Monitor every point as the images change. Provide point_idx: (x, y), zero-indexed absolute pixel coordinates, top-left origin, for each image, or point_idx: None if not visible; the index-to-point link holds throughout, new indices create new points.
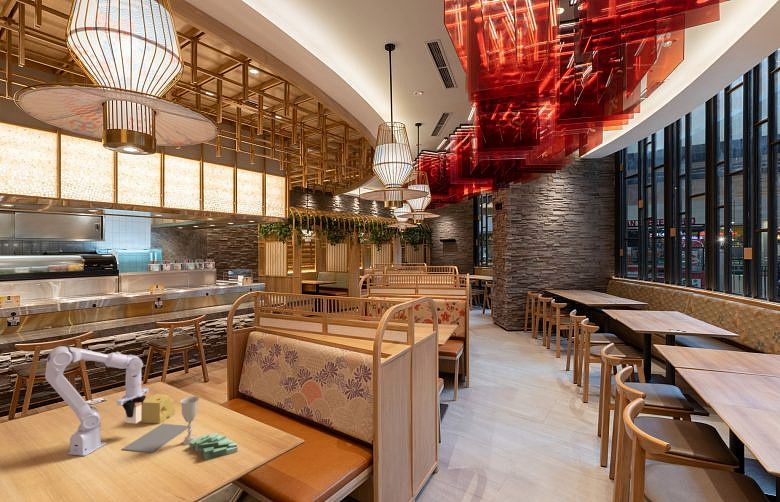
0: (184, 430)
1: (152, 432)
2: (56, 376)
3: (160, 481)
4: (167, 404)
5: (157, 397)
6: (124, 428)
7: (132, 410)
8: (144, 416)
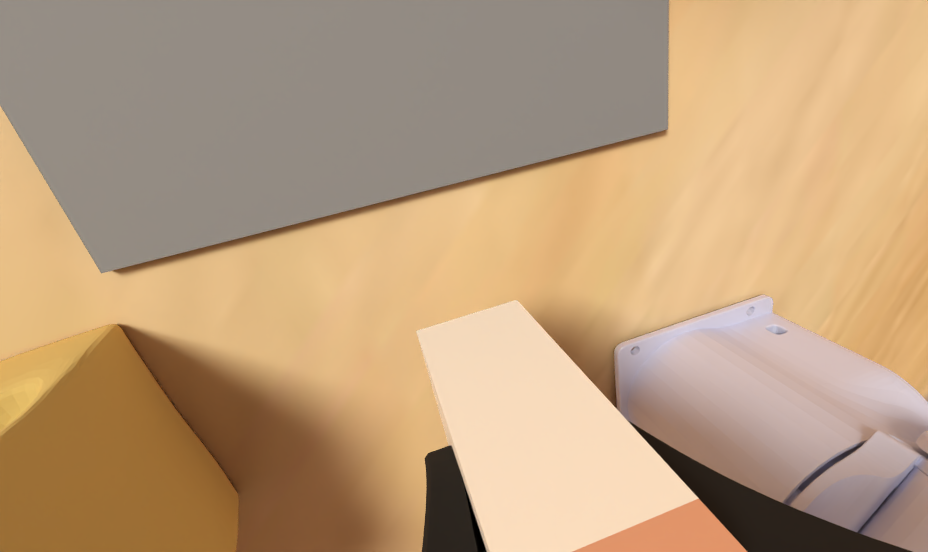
0: None
1: (322, 161)
2: None
3: None
4: None
5: None
6: (386, 488)
7: (683, 473)
8: (206, 521)
